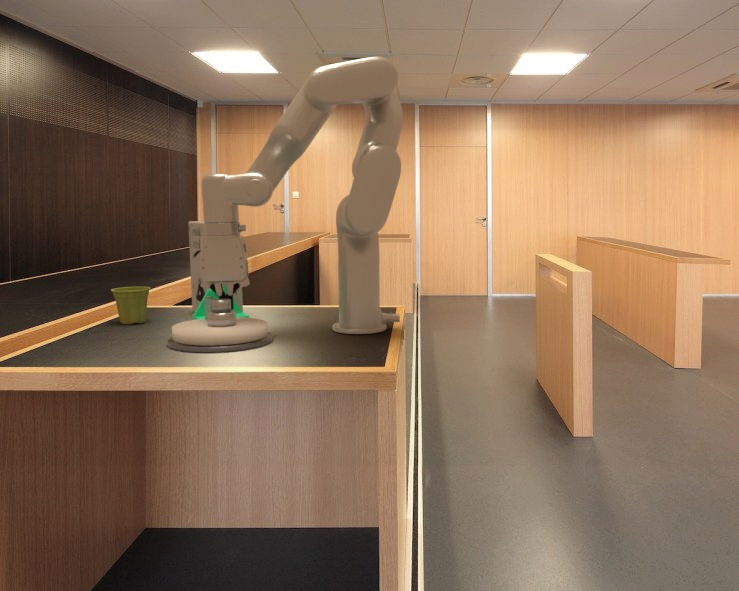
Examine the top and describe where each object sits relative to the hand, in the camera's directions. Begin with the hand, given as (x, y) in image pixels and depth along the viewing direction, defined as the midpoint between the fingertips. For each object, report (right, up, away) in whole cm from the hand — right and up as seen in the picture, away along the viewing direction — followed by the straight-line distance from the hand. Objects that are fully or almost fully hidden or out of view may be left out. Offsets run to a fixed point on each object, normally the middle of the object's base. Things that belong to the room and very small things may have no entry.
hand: (226, 312), depth 149 cm
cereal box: (-9, -2, +29) cm, 30 cm away
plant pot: (-28, -3, +19) cm, 34 cm away
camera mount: (-4, -4, +14) cm, 15 cm away
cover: (0, -2, -6) cm, 7 cm away
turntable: (0, -5, -6) cm, 8 cm away
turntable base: (0, -6, -6) cm, 9 cm away
